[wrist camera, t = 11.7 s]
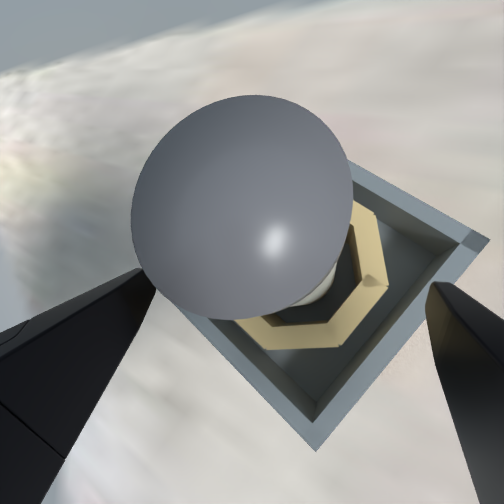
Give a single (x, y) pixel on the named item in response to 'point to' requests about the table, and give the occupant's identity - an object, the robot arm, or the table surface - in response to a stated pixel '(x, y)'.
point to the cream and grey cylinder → (243, 209)
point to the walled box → (349, 309)
